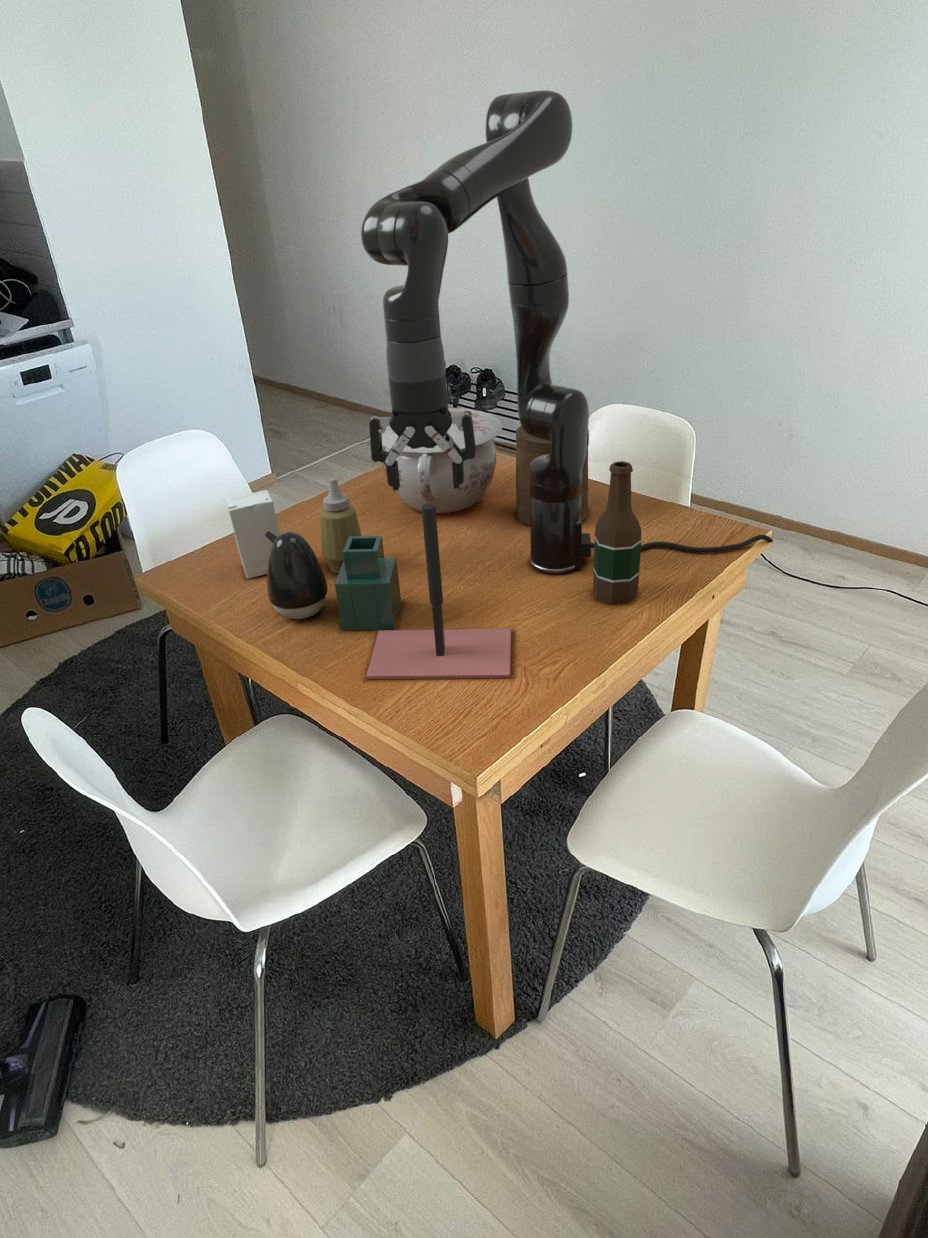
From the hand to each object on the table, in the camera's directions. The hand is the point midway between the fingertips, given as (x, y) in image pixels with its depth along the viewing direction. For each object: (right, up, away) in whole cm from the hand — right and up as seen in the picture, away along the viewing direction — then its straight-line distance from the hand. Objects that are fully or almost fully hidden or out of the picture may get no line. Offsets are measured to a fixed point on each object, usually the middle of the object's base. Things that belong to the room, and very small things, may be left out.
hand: (426, 487), depth 116 cm
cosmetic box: (-33, -9, +43) cm, 56 cm away
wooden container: (+24, +3, +57) cm, 62 cm away
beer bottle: (+32, -14, +28) cm, 45 cm away
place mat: (+2, -24, +15) cm, 29 cm away
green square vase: (-11, -18, +26) cm, 34 cm away
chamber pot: (0, +7, +66) cm, 67 cm away
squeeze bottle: (-17, -9, +42) cm, 46 cm away
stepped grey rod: (+2, -24, +15) cm, 28 cm away
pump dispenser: (-23, -17, +29) cm, 41 cm away
